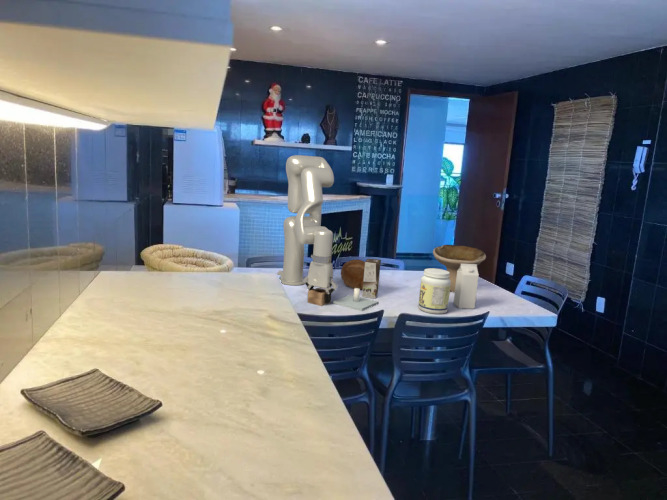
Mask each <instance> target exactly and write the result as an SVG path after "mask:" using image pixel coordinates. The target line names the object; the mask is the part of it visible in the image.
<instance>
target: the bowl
mask: <svg viewBox="0 0 667 500" xmlns="http://www.w3.org/2000/svg"><path fill="white" fill-rule="evenodd" d="M432 253H433V256H434V258H435V260H436V261H437V262H438V263H440V264H441V265H443V266H444V267H445V268H446V271H448V272H449V273H450V274H449V275H450V277H449V279H450V281H451V285H450V293H455V286H456V277H457V270H458V269H459V268H460V266H461V264H477V267H478V266H479V265H481V263H483V261H485V260H486V258H487V256H486V253H485V251H483V250H481V249H479V248H477V247H472V246H468V245H467V246H466V245H456V244H443V245H441V246H440V245H439V246H437V247H434V249H433V250H432Z"/></svg>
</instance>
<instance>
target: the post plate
mask: <svg viewBox="0 0 667 500" xmlns="http://www.w3.org/2000/svg"><path fill="white" fill-rule="evenodd" d="M360 294H361V290H360V289H359V288H354V289H353V294H348V295H347V296H346V295H345V296H344V297H342V298H338V299H336V300H333V301H332V304H333V305H336V306H342V307H345V308H350V309H352V310H357V311H361V312H363V311H365V310H368V309H370V308H372V307H374V305H375V306H376V304H377V305H379V300H378V301H377V300H375V299H371V298H367V297H362V296H360ZM371 306H372V307H371ZM369 307H370V308H369ZM367 308H368V309H367Z"/></svg>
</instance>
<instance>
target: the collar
mask: <svg viewBox="0 0 667 500" xmlns="http://www.w3.org/2000/svg"><path fill="white" fill-rule="evenodd" d="M326 294H327V292H326V290H325V288H320V287H316V288H314V289H312V290H307V303H309V304H312V305H317V306H319V307H322V306H325V305H327V304H331V302H332V300H331V301H330V302H329V303H325V295H326Z"/></svg>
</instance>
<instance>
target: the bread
mask: <svg viewBox="0 0 667 500" xmlns="http://www.w3.org/2000/svg"><path fill="white" fill-rule="evenodd" d="M364 269H365V261H364V260H361V259H350V260H348V261H346V262H344V264H343V265H342V267H341V269H340V276H341V277H340V278H341V280H342V282H343V284H344V285H345V286H346V287H347V288H351V289H353V290H354V288H359V289H360V291H363V280H364Z"/></svg>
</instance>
